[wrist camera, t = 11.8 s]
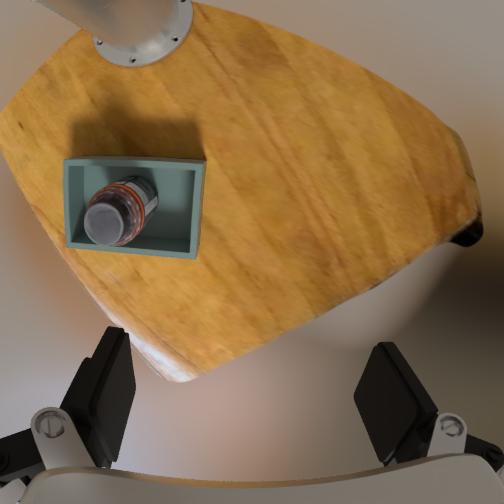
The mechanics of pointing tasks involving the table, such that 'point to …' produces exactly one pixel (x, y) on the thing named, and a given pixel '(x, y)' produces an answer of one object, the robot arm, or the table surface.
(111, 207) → the supplement bottle
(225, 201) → the table surface
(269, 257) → the table surface
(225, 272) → the table surface
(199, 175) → the box
